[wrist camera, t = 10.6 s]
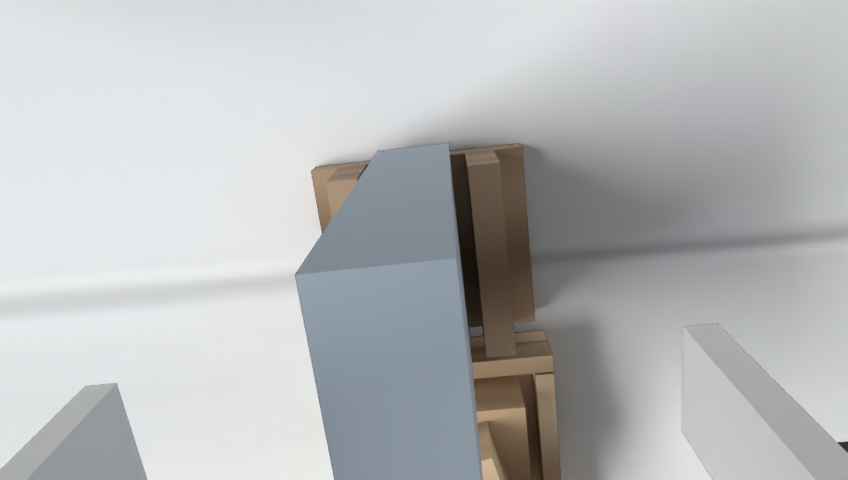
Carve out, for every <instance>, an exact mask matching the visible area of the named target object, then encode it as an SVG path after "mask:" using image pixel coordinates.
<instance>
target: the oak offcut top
mask: <svg viewBox="0 0 848 480" xmlns="http://www.w3.org/2000/svg"><path fill="white" fill-rule="evenodd" d="M478 432H479V443H480V454H481V464H482V475H483V480H508V477H507V474H506V472H505V469H504V466H503V463H502V460H501V458H500V455H499V452H498V449H497V446H496V443H495V441H494V438H493V435H492V432H491V429H490V427H489V424H488V421H484V422H480V423H478Z"/></svg>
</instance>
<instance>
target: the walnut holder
mask: <svg viewBox="0 0 848 480" xmlns="http://www.w3.org/2000/svg"><path fill="white" fill-rule="evenodd" d="M450 161H451V170H452V179H453V189H454V198H455V207H456V216H457V226H458V235H459V244H460V253H461V263H462V272H463V281H464V290H465V300H466V309H467V318H468V327H479V326H482V328H483V335H484V342H485V349H486V355H487V357H498V356H508V355H516V349H515V337H514V325H513V323H520V322H531V321H535V317H534V303H533V290H532V276H531V262H530V249H529V235H528V221H527V207H526V194H525V180H524V166H523V153H522V146H521V145H520V144H519V143H518V144H509V145H500V146H492V147H483V148H474V149H466V150H457V151H450ZM370 162H371V160H370V161H362V162H353V163H344V164H335V165H327V166H318V167H315V168H314V169H313V170H312V171H311V174H312V179H313V185H314V191H315V196H316V202H317V208H318V214H319V219H320V225H321V231H322V233H323V232H324V231H325V229H326V228H327V226H328V225H329V223H330V222H331V220H332V219H333V217H334V216H335V214H336V213H337V211H338V210H339V208H340V207H341V205H342V204H343V202H344V201H345V199H346V198H347V196H348V195H349V193H350V192H351V190H352V189H353V187H354V186H355V184H356V183H357V181H358V180H359V178H360V177H361V175H362V174H363V172H364V171H365V169H366V168H367V166H368V165H369V163H370Z"/></svg>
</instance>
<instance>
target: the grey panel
mask: <svg viewBox="0 0 848 480" xmlns="http://www.w3.org/2000/svg"><path fill="white" fill-rule="evenodd" d="M295 279H296V284H297V290H298V295H299V300H300V305H301V310H302V315H303V321H304V326H305V331H306V336H307V341H308V346H309V351H310V357H311V362H312V367H313V372H314V377H315V382H316V388H317V393H318V398H319V403H320V408H321V413H322V419H323V424H324V429H325V434H326V439H327V444H328V450H329V455H330V460H331V465H332V470H333V475H334V480H483V475H482V464H481V454H480V443H479V432H478V422H477V411H476V401H475V390H474V379H473V369H472V358H471V347H470V337H469V328H468V318H467V309H466V300H465V290H464V281H463V272H462V263H461V253H460V244H459V235H458V226H457V216H456V207H455V198H454V189H453V179H452V170H451V161H450V151H449V143H442V144H433V145H425V146H416V147H408V148H399V149H390V150H382V151H377V153H376V154H375V156H374V157H373V159H372V160H371V162H370V163H369V165H368V166H367V168H366V169H365V171H364V172H363V174H362V175H361V177H360V178H359V180H358V181H357V183H356V184H355V186H354V187H353V189H352V190H351V192H350V193H349V195H348V196H347V198H346V199H345V201H344V202H343V204H342V205H341V207H340V208H339V210H338V211H337V213H336V214H335V216H334V217H333V219H332V220H331V222H330V223H329V225H328V226H327V228H326V229H325V231H324V232H323V233H322V235H321V236H320V238H319V239H318V241H317V242H316V244H315V245H314V247H313V248H312V250H311V251H310V253H309V254H308V256H307V257H306V259H305V260H304V262H303V263H302V265H301V266H300V268H299V269H298V271H297V272H296V274H295Z"/></svg>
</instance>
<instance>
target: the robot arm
mask: <svg viewBox="0 0 848 480" xmlns="http://www.w3.org/2000/svg"><path fill="white" fill-rule="evenodd" d="M681 431H682V433H683V434H684V436H685V437H686V439H687V441H688V442H689V444H690V445H691V447H692V448H693V450H694V452H695V453H696V455H697V456H698V458H699V460H700V461H701V463H702V464H703V466H704V467H705V469H706V471H707V472H708V474H709V475H710V477H711V478H712V480H848V442H836V441H835V440H834V439H833V438H832V437H831V436H830V435H829V434H828V433H827V432H826V431H825V430H824V429H823V428H822V427H821V426H820V425H819V424H818V423H817V422H816V421H815V420H814V419H813V418H812V417H811V416H810V415H809V414H808V413H807V412H806V411H805V410H804V409H803V408H802V407H801V406H800V405H799V404H798V403H797V402H796V401H795V400H794V399H793V398H792V397H791V396H790V395H789V394H788V393H787V392H786V391H785V390H784V389H783V388H782V387H781V386H780V385H779V384H778V383H777V382H776V381H775V380H774V379H773V378H772V377H771V376H770V375H769V374H768V373H767V372H766V371H765V370H764V369H763V368H762V367H761V366H760V365H759V364H758V363H757V362H756V361H755V360H754V359H753V358H752V357H751V356H750V355H749V354H748V353H747V352H746V351H745V350H744V349H743V348H742V347H741V346H740V345H739V344H738V343H737V342H736V341H735V340H734V339H733V338H732V337H731V336H730V335H729V334H728V333H727V332H726V331H725V330H724V329H723V328H722V327H721V326H720V325H719V324H718V323H714V324H704V325H694V326H684V327H683V349H682V424H681ZM0 480H147V477H146V474H145V471H144V468H143V465H142V461H141V458H140V455H139V452H138V449H137V446H136V443H135V439H134V436H133V433H132V430H131V427H130V424H129V420H128V417H127V414H126V411H125V408H124V405H123V402H122V398H121V395H120V392H119V389H118V386H117V383H110V384H100V385H90V386H85V387H84V388H83V389H82V390H81V391H80V392H79V393H78V394H77V395H76V396H75V397H74V398H73V399H72V400H71V401H70V402H69V403H67V404H66V405H65V406H64V407H63V408H62V409H61V410H60V411H59V412H58V413H57V414H56V415H55V416H54V417H53V418H52V419H51V420H50V421H49V422H48V423H47V424H46V425H45V426H44V427H43V428H42V429H41V430H40V431H39V432H38V433H37V434H36V435H35V436H34V437H33V438H32V439H31V440H30V441H29V442H28V443H27V444H26V445H25V446H24V447H23V448H22V449H21V450H20V451H19V452H18V453H17V454H16V455H15V456H14V457H13V458H12V459H11V460H10V461H9V462H8V463H7V464H6V465H5V466H4V467H3V468H2V469H1V470H0Z"/></svg>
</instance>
